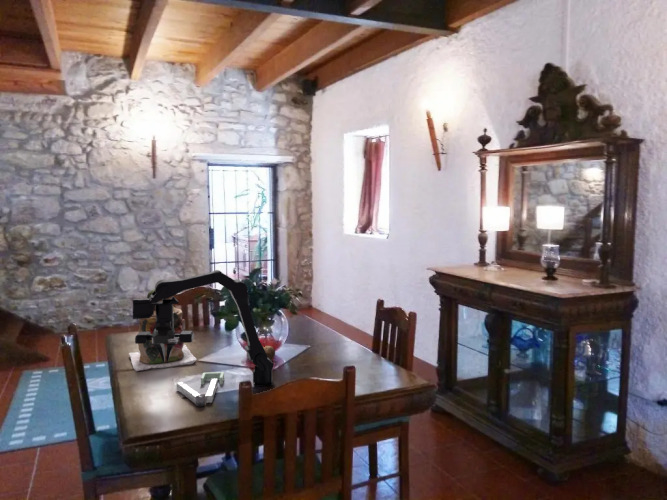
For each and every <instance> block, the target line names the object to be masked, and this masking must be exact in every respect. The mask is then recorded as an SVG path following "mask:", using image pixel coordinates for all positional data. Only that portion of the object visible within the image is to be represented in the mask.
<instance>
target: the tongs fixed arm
mask: <svg viewBox="0 0 667 500" xmlns="http://www.w3.org/2000/svg"><path fill="white" fill-rule="evenodd" d="M218 383H219V381H218V379H212V380H210V383H209V386H208V389H207V391H206V393H205V404H208V403H209V404H212V403H213V400H214V397H215V394H216V392H217V388H218Z"/></svg>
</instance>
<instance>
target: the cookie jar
mask: <svg viewBox="0 0 667 500" xmlns="http://www.w3.org/2000/svg"><path fill="white" fill-rule="evenodd" d="M154 290H155V288H153V289H151V290H150V291H149V292H148V293H147V296H146V299H149V297H150V296H151V294H152V293H153V292H154ZM170 298H171V297H169V298H167V299H170ZM161 301H162V299H161V300H160V301H159V302H161ZM153 308H154V315H152V316H150V318H145V319H138V321H139V326H138V334H139V333H140V332H151V334H153V332H154V329H155V324H156V308H155V305H153ZM182 316H183V311H182V309H180V308H176V307H175V306H174V305H173V318H174V321H173V325H174V330H175V334H181V332H182V331H186V320H185V319H184V318H183V319H181V317H182ZM178 340H179V341H178V342H177V344H176V345H174V346H173V348H172V351H171V354H170V357H169V360H168V362H167V360H166V356H167V344H164V348H165V362H163V360H162V358H161V355H160V353H159V351H158V349H157V348H156V347H155V346H152V340H147V341H146V342H145V343H144V344H137V346H138V351H136V352H135V351H134V352H129V353H128V355H129V358H130V360H131V361H130V362H131V364H132V368H133V369H134V371H135V372H139V371H146V370H150V369H164V368H171V367H178V366H186V365H193V364H194V363H195V362H196V361H197V360H198V359H197V358H196V356H195V355H193V353H191V350H190V349H189V348H188V347H187V345H186V344H184V343H182V342H181V341H180V339H178ZM168 342H169V341H168Z"/></svg>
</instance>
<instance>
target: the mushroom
mask: <svg viewBox="0 0 667 500" xmlns="http://www.w3.org/2000/svg"><path fill="white" fill-rule="evenodd" d="M263 348H264V350H265V352H266V354H267V357H268V358H269V359H270V360H271V361H272V360H273V359H274V358H275V356H276V350H275V349H274V347H273V346H272V345H265V347H264V346H263Z"/></svg>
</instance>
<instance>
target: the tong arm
mask: <svg viewBox="0 0 667 500" xmlns="http://www.w3.org/2000/svg"><path fill="white" fill-rule="evenodd" d="M176 390H177V391H178V392H179V393H180V394H182V395H183V396H184V397H186V398H187V399H189V400H190V401H191V402H192V403H194V404H195V406H196V407H204V406H206V395H204V394H200V393H198V391H196V390H194V389H193V388H191V387H190V386H189V385H188V384H186V383H185V382H183V381H179V382H176Z"/></svg>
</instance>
